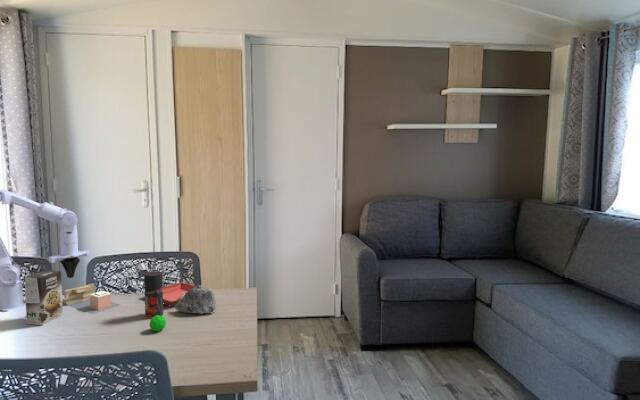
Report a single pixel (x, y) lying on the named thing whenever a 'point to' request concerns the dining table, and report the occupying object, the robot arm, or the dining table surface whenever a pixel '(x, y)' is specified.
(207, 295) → the mineral rock
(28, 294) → the brown food box
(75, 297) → the wooden stand
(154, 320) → the polyhedron
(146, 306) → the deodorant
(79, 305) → the slate mat
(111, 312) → the dining table surface
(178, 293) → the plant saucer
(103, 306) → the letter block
